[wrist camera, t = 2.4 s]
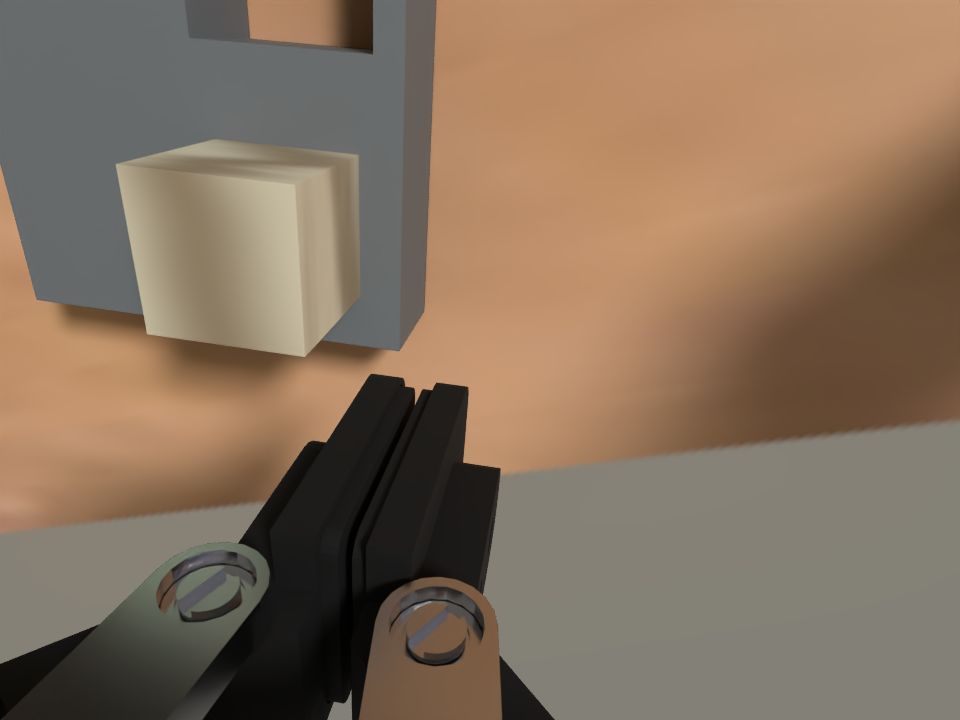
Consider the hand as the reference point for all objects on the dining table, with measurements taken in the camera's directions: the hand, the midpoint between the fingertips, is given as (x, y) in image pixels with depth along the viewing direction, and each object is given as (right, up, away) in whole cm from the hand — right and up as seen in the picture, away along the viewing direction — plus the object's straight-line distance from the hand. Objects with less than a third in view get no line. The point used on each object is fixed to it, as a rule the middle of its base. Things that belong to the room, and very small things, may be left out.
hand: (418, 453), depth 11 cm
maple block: (-6, +7, +11) cm, 14 cm away
